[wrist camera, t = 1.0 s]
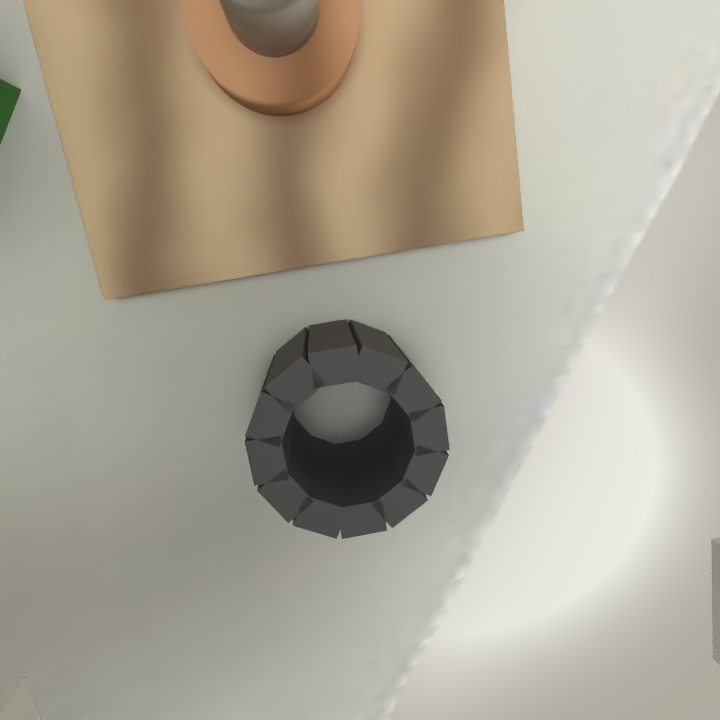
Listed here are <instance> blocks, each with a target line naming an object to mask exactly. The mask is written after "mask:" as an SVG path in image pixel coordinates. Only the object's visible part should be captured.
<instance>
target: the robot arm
mask: <svg viewBox="0 0 720 720" xmlns="http://www.w3.org/2000/svg"><path fill="white" fill-rule="evenodd" d="M712 613H713V614H712V617H713V618H712V619H713V620H712V621H713V658H714V660H715V661H716V662H717V663H718V664H719V665H720V538H715V539H712ZM0 720H41V719H40V716H39V714H38V711H37V708H36V705H35V703H34V700H33V697H32V695H31V692H30V689H29V686H28V684H27V681H26V678H25V677H21V678H16V679H11V680H6V681H1V682H0Z"/></svg>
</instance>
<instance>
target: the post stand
mask: <svg viewBox="0 0 720 720" xmlns="http://www.w3.org/2000/svg"><path fill="white" fill-rule="evenodd" d="M23 3H24V6H25V10H26V14H27V17H28V21H29V25H30V29H31V32H32V36H33V40H34V43H35V47H36V51H37V54H38V58H39V62H40V66H41V69H42V73H43V77H44V80H45V84H46V88H47V91H48V95H49V99H50V103H51V106H52V110H53V114H54V117H55V121H56V125H57V128H58V132H59V136H60V139H61V143H62V147H63V151H64V154H65V158H66V162H67V165H68V169H69V173H70V176H71V180H72V184H73V188H74V191H75V195H76V199H77V202H78V206H79V210H80V213H81V217H82V221H83V224H84V228H85V232H86V236H87V239H88V243H89V247H90V250H91V254H92V258H93V261H94V265H95V269H96V273H97V276H98V280H99V284H100V287H101V291H102V295H103V298H104V300H109V299H115V298H121V297H127V296H133V295H139V294H145V293H151V292H157V291H163V290H169V289H175V288H181V287H187V286H193V285H200V284H206V283H212V282H218V281H224V280H230V279H236V278H242V277H248V276H254V275H260V274H266V273H272V272H278V271H284V270H290V269H296V268H302V267H308V266H314V265H320V264H326V263H332V262H338V261H344V260H350V259H356V258H362V257H368V256H374V255H380V254H386V253H392V252H398V251H404V250H410V249H416V248H422V247H428V246H434V245H440V244H446V243H452V242H458V241H464V240H470V239H476V238H482V237H488V236H494V235H500V234H506V233H512V232H518V231H524V228H523V217H522V205H521V194H520V182H519V170H518V159H517V147H516V136H515V124H514V113H513V101H512V90H511V78H510V66H509V55H508V43H507V32H506V20H505V9H504V0H23Z"/></svg>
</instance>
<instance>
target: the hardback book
mask: <svg viewBox="0 0 720 720" xmlns="http://www.w3.org/2000/svg"><path fill="white" fill-rule="evenodd" d="M20 92H21V90H20V89H18V88H16V87H14V86H13V85H11V84H9V83H7V82H5V81H3V80H1V79H0V144H1V141H2V139H3V136H4V134H5V131H6V128H7V126H8V123H9V121H10V118H11V115H12V113H13V110H14V108H15V105H16V102H17V100H18V97H19V95H20Z"/></svg>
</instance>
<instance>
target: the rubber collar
mask: <svg viewBox="0 0 720 720" xmlns="http://www.w3.org/2000/svg"><path fill="white" fill-rule="evenodd" d="M353 381H357V382H360V383H363V384H366V385H369V386H372V387H375V388H377V389H380V390H383V391H386V392H389V393H390V397H391V402H390V404H389V407H388V409H387V412H386V414H385V416H384V419H383V421H382V424H381V425H379V426H378V427H377V428H376V429H374V430H373V431H372V432H371V433H369V434H368V435H367V436H366V437H364V438H363V439H362V440H357V441H352V442H346V443H341V444H333V443H330V442H327V441H324V440H321V439H318V438H315V437H312V436H311V435H310V434H309V433H308V432H307V431H306V430H305V428H304V427H303V426H302V425H301V424H300V423H299V422H298V421H297V420H296V419H295V417H294V412H293V409H294V408H296V407H297V406H298V405H299V404H301V403H302V402H303V401H304V400H305V399H307V398H308V397H309V396H310V395H312V394H313V393H314V392H315V391H316V390H318V389H319V388H320V387H325V386H330V385H336V384H342V383H347V382H353ZM245 436H246V440H245V445H246V450H247V454H248V459H249V463H250V467H251V472H252V476H253V481H254V485H255V486H256V485H258V489H257V491H258V492H259V493H260V494H261V495H262V496H263V497H264V498H265V499H266V500H267V501H268V502H269V503H270V504H271V505H272V506H273V507H274V508H275V509H276V510H277V512H278V513H279V514H280V515H281V516H282V517H283V518H284V519H285V520H286V521H287V522H288V523H289V522H290V521H291V520H292V519H294V521H293V526H296V527H299V528H303V529H306V530H310V531H313V532H316V533H320V534H323V535H326V536H330V537H333V538H336V539H337V536H338V534H339V531H340V530H341V535H342V539H344V538H349V537H355V536H360V535H365V534H370V533H376V532H381V531H386V530H387V527H386V522H387V523H388V524H389V525H390V526H391V527H392V528H393V527H394V526H395V525H397V524H398V523H399V522H401V521H402V520H403V519H404V518H406V517H407V516H408V515H409V514H411V513H412V512H413V511H415V510H416V509H417V508H418V507H420V506H421V505H422V504H424V503H425V502H426V501H427V497H426V495H425V494H427V495H430V496H431V495H432V493H433V490H434V488H435V486H436V484H437V481H438V479H439V477H440V474H441V472H442V470H443V467H444V465H445V463H446V460H447V458H448V456H449V455H448V453H447V452H446V450H450V449H449V442H448V434H447V426H446V419H445V411H444V405H443V404H442V403H441V399H440V398H439V397H438V396H437V394H436V393H435V392H434V391H433V389H432V388H431V387H430V386H429V384H428V383H427V382H426V381H425V379H424V378H423V377H422V376H421V374H420V373H419V372H418V371H417V369H416V368H415V367H414V366H413V364H412V363H411V362H410V361H409V359H408V358H407V357H406V356H405V354H404V353H403V352H402V351H401V349H400V348H399V347H398V346H397V345H396V343H395V342H394V341H393V340H392V338H391V337H390V336H389V335H388V336H387V334H386V333H385V332H383V331H380V330H377V329H375V328H372V327H369V326H366V325H364V324H361V323H358V322H356V321H353V320H350V323H349V325H348V323H347V320H346V319H345V320H339V321H333V322H328V323H322V324H316V325H310V326H309V331H308V330H307V329H306V328H304V329H303V330H302V331H300V332H299V333H298V334H297V335H296V336H294V337H293V338H292V339H291V340H290V341H288V342H287V343H286V344H285V345H284V346H282V347H281V348H280V349H279V350H278V351H277V352H276V355H274V357H273V360H272V362H271V365H270V368H269V371H268V374H267V376H266V379H265V382H264V385H263V387H262V390H261V393H260V396H259V399H258V401H257V404H256V407H255V410H254V413H253V415H252V418H251V421H250V424H249V427H248V429H247V432H246V435H245Z"/></svg>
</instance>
